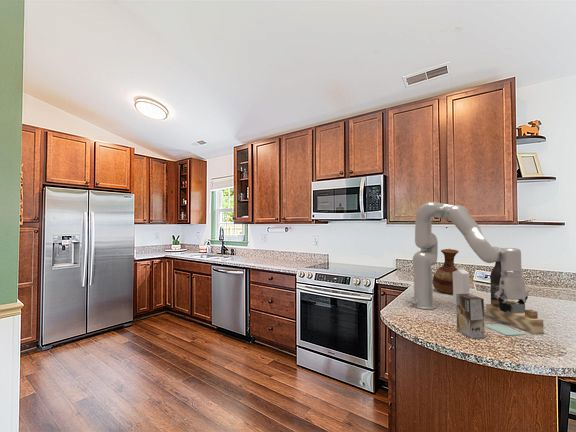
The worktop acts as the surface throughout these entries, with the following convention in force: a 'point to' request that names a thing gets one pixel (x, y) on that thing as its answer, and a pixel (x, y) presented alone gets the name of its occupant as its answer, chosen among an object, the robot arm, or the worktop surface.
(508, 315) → the body
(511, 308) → the lever cap
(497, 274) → the wine bottle
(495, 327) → the mat
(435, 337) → the worktop surface
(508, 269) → the robot arm
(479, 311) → the coffee box
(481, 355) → the worktop surface
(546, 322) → the worktop surface
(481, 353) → the worktop surface
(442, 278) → the brown ceramic vase
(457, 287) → the milk
